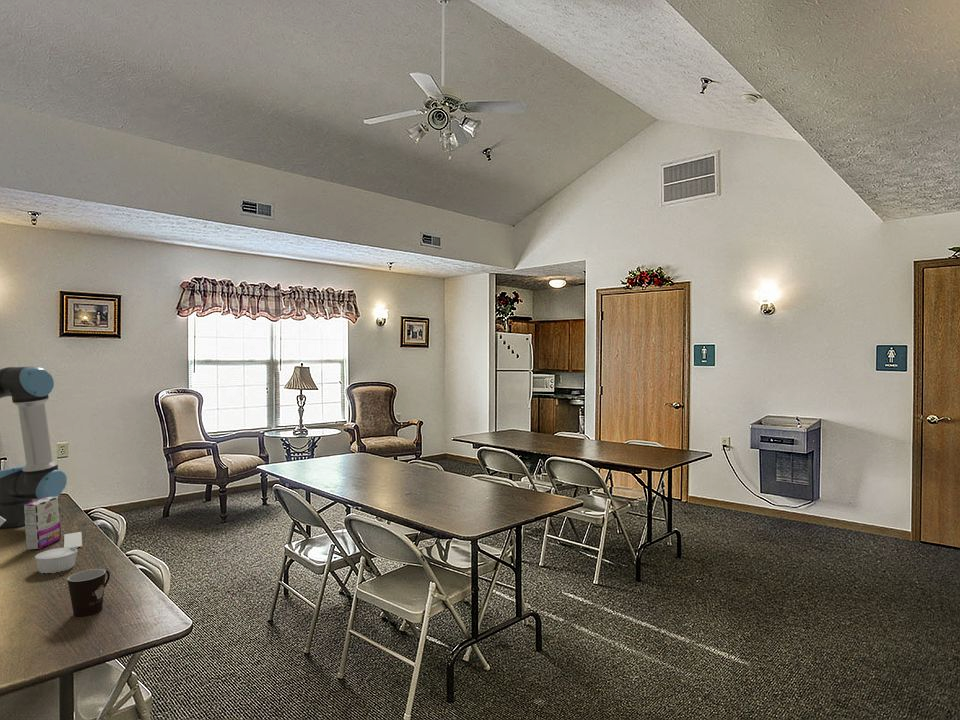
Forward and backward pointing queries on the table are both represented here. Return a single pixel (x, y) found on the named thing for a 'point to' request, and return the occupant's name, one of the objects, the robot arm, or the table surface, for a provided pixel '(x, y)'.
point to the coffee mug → (87, 591)
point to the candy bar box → (42, 522)
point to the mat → (73, 540)
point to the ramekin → (56, 560)
